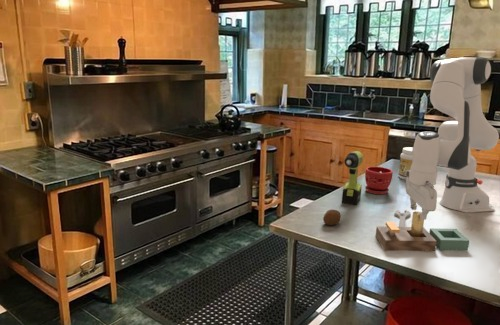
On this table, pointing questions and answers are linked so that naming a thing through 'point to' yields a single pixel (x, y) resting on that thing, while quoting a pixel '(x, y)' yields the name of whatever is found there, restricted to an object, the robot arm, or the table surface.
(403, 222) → the adjustable wrench
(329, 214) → the potato
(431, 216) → the table surface
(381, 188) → the plant pot
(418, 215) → the gold rounded cylinder
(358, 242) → the table surface
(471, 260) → the table surface
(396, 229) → the block
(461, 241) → the green square frame
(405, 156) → the supplement tub
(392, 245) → the socket block
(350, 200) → the cordless drill
